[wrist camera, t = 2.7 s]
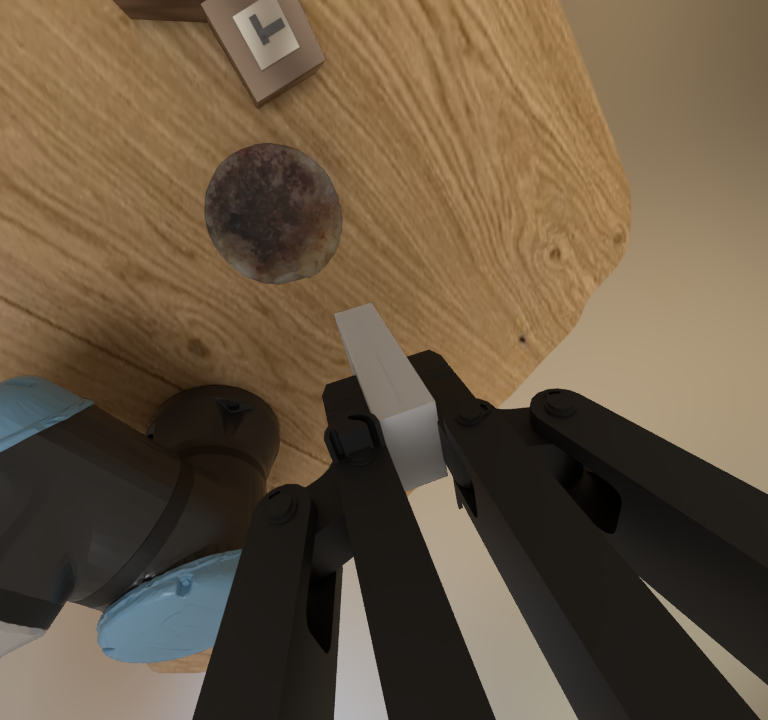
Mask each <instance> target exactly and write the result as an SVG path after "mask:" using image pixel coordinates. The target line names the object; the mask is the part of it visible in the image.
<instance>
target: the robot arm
mask: <svg viewBox="0 0 768 720" xmlns="http://www.w3.org/2000/svg"><path fill="white" fill-rule="evenodd" d="M334 316H335V320H336V323H337V326H338V329H339V332H340V336H341V339H342V342H343V345H344V349H345V352H346V355H347V358H348V361H349V365H350V368H351V371H352V374H353V376H351V377H348V378H345V379H342V380H339V381H336V382H333V383H330V384H327V385H326V387H325V390H324V392H323V395H322V398H323V403H324V407H325V412H326V416H327V421H328V427H327V429H326V430H325V433H324V441H325V444H326V446H327V448H328V451H329V453H330V456H331V458H332V463H331V465H330V467H329V469H328V470H327V471H326V472H325V473H324V474H323V475H322V476H321V477H320V478H319V479H317V480H316V481H315V482H313V483H312V484H310V485H309V486H307V487H306V488H305V487H302V486H300V485H298V484H286V485H283V486H280V487H276V488H275V489H273V490H272V491H270V492H269V493H267V490H266V480H267V477H268V475H269V472H270V470H271V467H272V465H273V462H274V461H275V459H276V456H277V454H278V450H279V443H280V437H279V426H278V422H277V419H276V416H275V414H274V413H273V411H272V410H271V408H270V407H269V406H268V405H267V404H266V403H265V402H264V401H263V400H261V399H260V398H258V397H257V396H255V395H254V394H252V393H249V392H247V391H245V390H242V389H238V388H234V387H229V386H219V385H213V386H202V387H196V388H192V389H189V390H186V391H183V392H181V393H179V394H177V395H175V396H173V397H171V398H170V399H168V400H167V401H166V402H165V403H163V404H162V405H161V406H160V407H159V408H158V410H157V411H156V412H155V414H154V415H153V417H152V419H151V421H150V424H149V426H148V429H147V431H146V434H145V435H144V434H142V433H140V432H139V431H137V430H135V429H134V428H132V427H130V426H129V425H127V424H125V423H124V422H122V421H120V420H118V419H117V418H115V417H114V416H112V415H110V414H109V413H107V412H105V411H104V410H102V409H101V408H99V407H97V406H96V405H94V403H95V402H93V401H92V400H90V399H84V398H82V397H80V396H78V395H76V394H74V393H72V392H70V391H68V390H66V389H64V388H62V387H61V386H59V385H57V384H55V383H53V382H51V381H49V380H47V379H45V378H42V377H38V376H29V375H27V376H17V377H13V378H10V379H7V380H5V381H3V382H1V383H0V658H1V657H2V656H4V655H6V654H8V653H10V652H12V651H14V650H16V649H18V648H20V647H22V646H23V645H25V644H27V643H29V642H31V641H33V640H35V639H37V638H39V637H41V636H43V635H44V634H45V633H46V631H47V630H48V628H49V627H50V625H51V624H52V622H53V621H54V619H55V618H56V616H57V615H58V613H59V612H60V610H61V609H62V607H63V606H64V604H65V603H66V601H69V602H73V603H77V604H80V605H84V606H87V607H89V608H93V609H96V610H100V611H102V613H103V615H102V616H101V618H100V620H99V622H98V624H97V632H98V644H99V646H100V647H101V648H102V651H103V653H104V654H105V655H107V656H108V657H110V658H112V659H115V660H118V661H122V662H128V663H156V662H162V661H169V660H174V659H178V658H183V657H186V656H189V655H192V654H196V653H199V652H201V651H204V650H207V649H209V648H211V647H213V651H212V654H211V658H210V661H209V664H208V668H207V671H206V675H205V678H204V682H203V685H202V688H201V692H200V695H199V698H198V702H197V705H196V709H195V712H194V716H193V719H192V720H334V707H335V690H336V673H337V656H338V637H339V623H340V622H339V621H340V606H341V605H340V604H341V589H342V588H341V587H342V572H343V566H342V565H344V564H345V563H346V562H347V561H349V560H350V559H351V558H352V557H354V560H355V565H356V569H357V574H358V579H359V584H360V588H361V593H362V597H363V602H364V607H365V612H366V616H367V621H368V625H369V630H370V635H371V640H372V644H373V649H374V654H375V658H376V663H377V667H378V672H379V677H380V682H381V687H382V691H383V696H384V701H385V705H386V710H387V714H388V719H389V720H496V719H495V716H494V714H493V712H492V709H491V706H490V704H489V701H488V699H487V696H486V694H485V691H484V689H483V687H482V684H481V681H480V679H479V676H478V674H477V671H476V669H475V666H474V664H473V661H472V659H471V656H470V654H469V651H468V649H467V646H466V644H465V641H464V639H463V636H462V634H461V631H460V629H459V626H458V624H457V621H456V619H455V617H454V614H453V611H452V609H451V606H450V603H449V601H448V599H447V596H446V594H445V591H444V588H443V586H442V583H441V581H440V578H439V576H438V574H437V571H436V569H435V566H434V564H433V561H432V559H431V556H430V553H429V551H428V548H427V546H426V543H425V541H424V538H423V536H422V533H421V531H420V528H419V526H418V523H417V521H416V518H415V516H414V513H413V511H412V508H411V506H410V503H409V501H408V498H407V496H406V493H405V492H406V491H408V490H411V489H414V488H416V487H419V486H422V485H424V484H427V483H430V482H432V481H435V480H438V479H440V478H443V477H446V476H448V473H447V468H446V465H447V467H448V469H449V470H450V472H451V474H452V476H453V479H454V487H455V492H456V499H457V504H458V507H459V509H461V508H463V506H462V503H463V505H464V507H465V509H466V511H467V513H468V515H469V517H470V518H471V520H472V522H473V524H474V526H475V528H476V530H477V531H478V533H479V535H480V537H481V539H482V541H483V543H484V544H485V546H486V548H487V550H488V552H489V554H490V556H491V557H492V559H493V561H494V563H495V565H496V567H497V569H498V571H499V572H500V574H501V576H502V578H503V580H504V582H505V584H506V585H507V587H508V589H509V591H510V593H511V595H512V597H513V599H514V600H515V602H516V604H517V606H518V608H519V610H520V612H521V613H522V615H523V617H524V619H525V621H526V623H527V624H528V626H529V628H530V630H531V632H532V634H533V636H534V638H535V639H536V641H537V643H538V645H539V647H540V649H541V651H542V653H543V654H544V656H545V658H546V660H547V662H548V664H549V666H550V667H551V669H552V671H553V673H554V675H555V677H556V678H557V680H558V682H559V684H560V686H561V688H562V690H563V692H564V694H565V695H566V697H567V699H568V701H569V703H570V705H571V706H572V708H573V710H574V712H575V714H576V716H577V718H578V719H579V720H760V719H759V717H758V716H757V715H756V714H755V713H754V712H753V710H752V709H751V708H750V707H749V706H748V704H747V703H746V702H745V701H744V700H743V699H742V697H741V696H740V695H739V694H738V693H737V692H736V690H735V689H734V688H733V687H732V686H731V684H730V683H729V682H728V681H727V680H726V679H725V678H724V676H723V675H722V674H721V673H720V671H719V670H718V669H717V668H716V667H715V666H714V664H713V663H712V662H711V661H710V660H709V659H708V657H707V656H706V655H705V654H704V653H703V652H702V650H701V649H700V648H699V647H698V646H697V645H696V643H695V642H694V641H693V640H692V639H691V637H690V636H689V635H688V634H687V633H686V632H685V630H684V629H683V628H682V627H681V626H680V625H679V623H678V622H677V621H676V620H675V619H674V617H673V616H672V615H671V614H670V613H669V612H668V610H667V609H666V608H665V607H664V606H663V605H662V603H661V602H660V601H659V600H658V599H657V598H656V596H655V595H654V594H653V593H652V592H651V590H650V589H649V588H648V587H647V586H646V584H645V583H644V582H643V581H642V580H641V579H640V577H641V578H642V579H643V580H644V581H645V582H647V583H648V584H649V585H650V586H651V587H652V588H654V589H655V590H656V591H657V592H658V593H659V594H661V595H662V596H663V597H664V598H665V599H666V600H668V601H669V602H670V603H671V604H672V605H674V606H675V607H676V608H677V609H678V610H680V611H681V612H682V613H683V614H684V615H686V616H687V617H688V618H689V619H690V620H691V621H692V622H694V623H695V624H696V625H697V626H698V627H700V628H701V629H702V630H703V631H704V632H706V633H707V634H708V635H709V636H710V637H711V638H713V639H714V640H715V641H716V642H717V643H719V644H720V645H721V646H722V647H723V648H725V649H726V650H727V651H728V652H729V653H730V654H732V655H733V656H734V657H735V658H736V659H737V660H739V661H740V662H741V663H742V664H743V665H745V666H746V667H747V668H748V669H749V670H750V671H752V672H753V673H754V674H756V676H758V677H759V678H760V679H761V680H763V682H765V683H766V684H767V685H768V494H766V493H764V492H762V491H760V490H759V489H757V488H755V487H753V486H751V485H749V484H747V483H745V482H744V481H742V480H740V479H738V478H736V477H734V476H732V475H730V474H729V473H727V472H725V471H723V470H721V469H719V468H717V467H715V466H714V465H712V464H710V463H708V462H706V461H704V460H702V459H700V458H699V457H697V456H695V455H693V454H691V453H689V452H687V451H685V450H684V449H682V448H680V447H678V446H676V445H674V444H672V443H670V442H668V441H667V440H665V439H663V438H661V437H659V436H657V435H655V434H654V433H652V432H650V431H648V430H646V429H644V428H642V427H640V426H639V425H637V424H635V423H633V422H631V421H629V420H627V419H625V418H624V417H622V416H620V415H618V414H616V413H614V412H612V411H610V410H609V409H607V408H605V407H603V406H601V405H599V404H597V403H595V402H594V401H592V400H590V399H587V398H586V397H584V396H582V395H580V394H578V393H576V392H573V391H570V390H565V389H558V388H557V389H547V390H544V391H542V392H539V393H538V394H536V395H535V396H534V397H533V398H532V400H531V403H530V407H527V408H517V409H496V408H495V407H494V406H493V405H491V404H490V403H489V402H487V401H484V400H481V399H477V398H475V397H474V395H473V394H472V393H471V392H470V391H469V389H468V388H467V387H466V386H465V384H464V383H463V382H462V381H461V379H460V378H459V377H458V376H457V375H456V373H454V371H453V370H452V368H451V367H450V366H448V363H447V362H446V361H445V360H444V359H443V357H442V356H441V355H439V354H437V353H435V352H433V351H431V350H426V351H423V352H420V353H417V354H414V355H411V356H408V357H406V356H405V354H404V352H403V351H402V349H401V348H400V346H399V345H398V343H397V342H396V340H395V339H394V337H393V335H392V334H391V332H390V331H389V329H388V328H387V326H386V325H385V323H384V322H383V320H382V318H381V317H380V315H379V314H378V312H377V311H376V309H375V308H374V306H373V305H372V303H368V304H365V305H361V306H358V307H355V308H352V309H348V310H345V311H342V312H339V313H336V314H334Z"/></svg>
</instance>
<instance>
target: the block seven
mask: <svg viewBox="0 0 768 720" xmlns="http://www.w3.org/2000/svg"><path fill="white" fill-rule="evenodd" d="M113 1H114V2H115V3H116V4H117V5H118V6H119V7H120V8H121V9H122V10H123V11H124V12H125V13H126V14H127V15H128V16H129V17H130V18H131V19H143V20H163V21H184V22H205V23H208V21H207V18H206V16H205V13H204V11H203V8H202V6H201V3H203V2H204V1H206V0H113Z"/></svg>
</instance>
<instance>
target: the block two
mask: <svg viewBox="0 0 768 720" xmlns="http://www.w3.org/2000/svg"><path fill="white" fill-rule="evenodd" d="M201 6H202V8H203V11H204V13H205V16H206V18H207V21H208V23H209V26H210V28H211V30H212V31H213V33H214V35H215V36H216V38H217V40H218V42H219V43H220V45H221V47H222V48H223V50H224V52H225V54H226V55H227V57H228V59H229V61H230V62H231V64H232V66H233V67H234V69H235V71H236V73H237V74H238V76H239V78H240V79H241V81H242V83H243V85H244V86H245V88H246V90H247V91H248V93H249V95H250V97H251V98H252V100H253V102H254V103H255V105H256V107H257V109H258V108H260V107H262V106H263V105H265V104H266V103H268V102H270V101H271V100H273V99H274V98H276V97H278V96H279V95H281V94H282V93H284V92H286V91H287V90H289V89H290V88H292V87H294V86H295V85H297V84H298V83H300V82H302V81H303V80H305V79H306V78H308V77H310V76H311V75H313V74H314V73H316V72H317V70H318V69H319V68H320V66H321V65H322V64H323V63H324V61H325V60H326V59H325V57H324V55H323V53H322V50H321V48H320V46H319V44H318V42H317V40H316V37H315V35H314V33H313V31H312V29H311V27H310V24H309V22H308V20H307V18H306V16H305V13H304V11H303V9H302V7H301V5H300V3H299V0H206V1H204V2H203V3H201Z"/></svg>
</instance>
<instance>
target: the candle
mask: <svg viewBox="0 0 768 720" xmlns="http://www.w3.org/2000/svg"><path fill="white" fill-rule="evenodd" d="M205 220H206V225H207V229H208V232H209V235H210V238H211V240H212V241H213V243H214V245H215V247H216V249H217V250H218V252H219V253H220V255H221V256H222V257H223V258H224V259H225V260H226V261H227V262H228V263H229V264H230V265H231V266H232V267H233V268H235V269H236V270H237V271H238V272H240V273H241V274H242V275H244V276H246V277H248V278H251V279H253V280H256V281H259V282H261V283H266V284H283V283H286V282H291V281H295V280H300V279H303V278H306V277H308V278H311V277H312V276H314V275H316V274H318V273H319V272H320V271H321V270H322V269H323V268H324V267H325V266H326V265H327V263H328V262H329V260H330V259H331V258H332V256H333V255H334V254H335V252H336V250H337V247H338V244H339V242H340V235H341V230H342V214H341V206H340V204H339V200H338V196H337V193H336V191H335V189H334V186H333V184H332V182H331V180H330V178H329V177H328V175H327V174H326V172H325V171H324V169H323V168H322V167H321V166H319V165H318V164H317V163H316V162H315V161H314V160H313V159H312V158H311V157H309V156H307V155H305V154H304V153H302V152H300V151H299V150H296V149H294V148H291V147H288V146H284V145H278V144H271V143H263V144H255V145H253V146H250V147H247V148H244V149H241V150H239V151H237V152H235V153H233V154H232V155H230V156H229V157H228V158H227V159H226V160H225V161H224V162H222V163H221V164H220V165H219V167H218V168H217V169H216V171H215V173H214V175H213V177H212V178H211V180H210V183H209V186H208V188H207V191H206V196H205Z"/></svg>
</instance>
